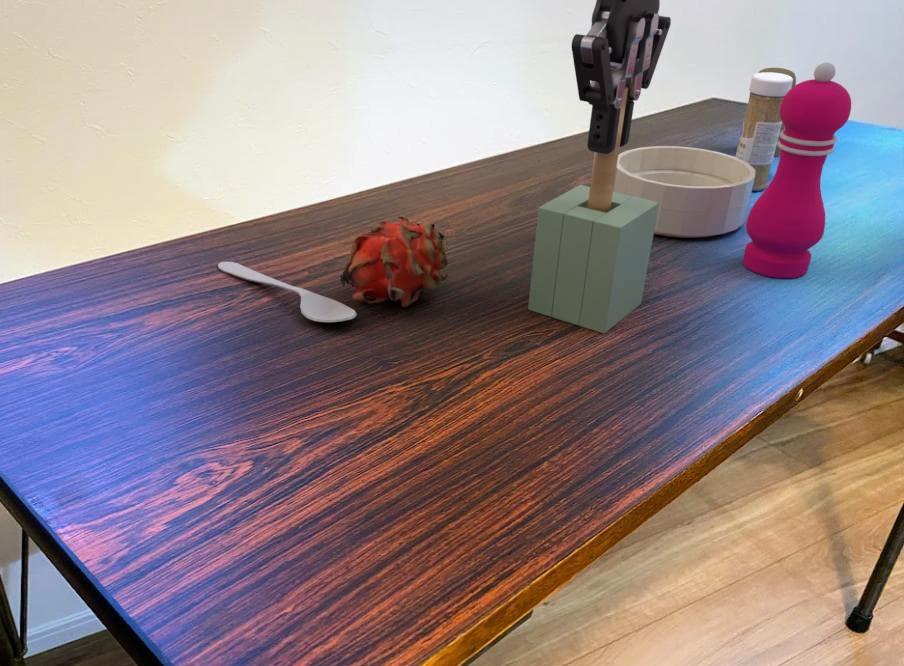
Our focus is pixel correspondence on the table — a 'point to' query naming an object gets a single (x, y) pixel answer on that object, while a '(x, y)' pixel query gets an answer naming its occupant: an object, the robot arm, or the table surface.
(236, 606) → the table surface
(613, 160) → the cooking stick
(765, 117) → the sprinkles bottle
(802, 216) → the pepper mill
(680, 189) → the bowl
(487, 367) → the table surface
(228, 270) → the spoon
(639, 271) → the utensil block
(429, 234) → the dragon fruit
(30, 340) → the table surface
